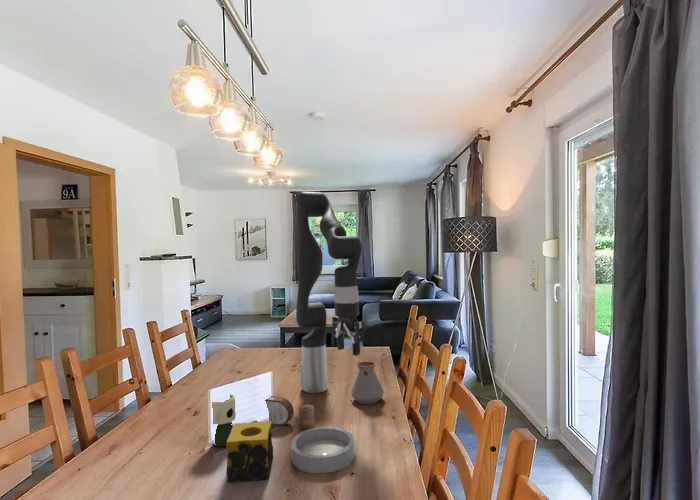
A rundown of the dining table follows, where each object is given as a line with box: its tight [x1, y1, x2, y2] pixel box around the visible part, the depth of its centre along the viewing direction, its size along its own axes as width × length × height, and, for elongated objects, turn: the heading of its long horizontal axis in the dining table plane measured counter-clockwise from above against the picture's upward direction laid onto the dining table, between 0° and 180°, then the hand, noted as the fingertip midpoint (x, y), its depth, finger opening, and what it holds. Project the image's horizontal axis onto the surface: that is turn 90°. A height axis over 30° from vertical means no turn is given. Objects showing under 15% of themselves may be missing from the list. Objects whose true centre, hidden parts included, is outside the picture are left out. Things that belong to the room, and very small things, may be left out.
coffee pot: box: [350, 360, 385, 405], centre depth 136 cm, size 21×12×15 cm, turn 176°
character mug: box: [212, 393, 237, 447], centre depth 113 cm, size 11×7×13 cm, turn 177°
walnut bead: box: [298, 404, 316, 432], centre depth 122 cm, size 5×5×6 cm
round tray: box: [290, 426, 356, 474], centre depth 105 cm, size 16×16×4 cm
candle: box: [225, 421, 274, 484], centre depth 99 cm, size 10×10×10 cm
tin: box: [265, 395, 295, 427], centre depth 125 cm, size 15×3×8 cm, turn 71°
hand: (348, 352), depth 125 cm, fingers open, 8 cm apart
